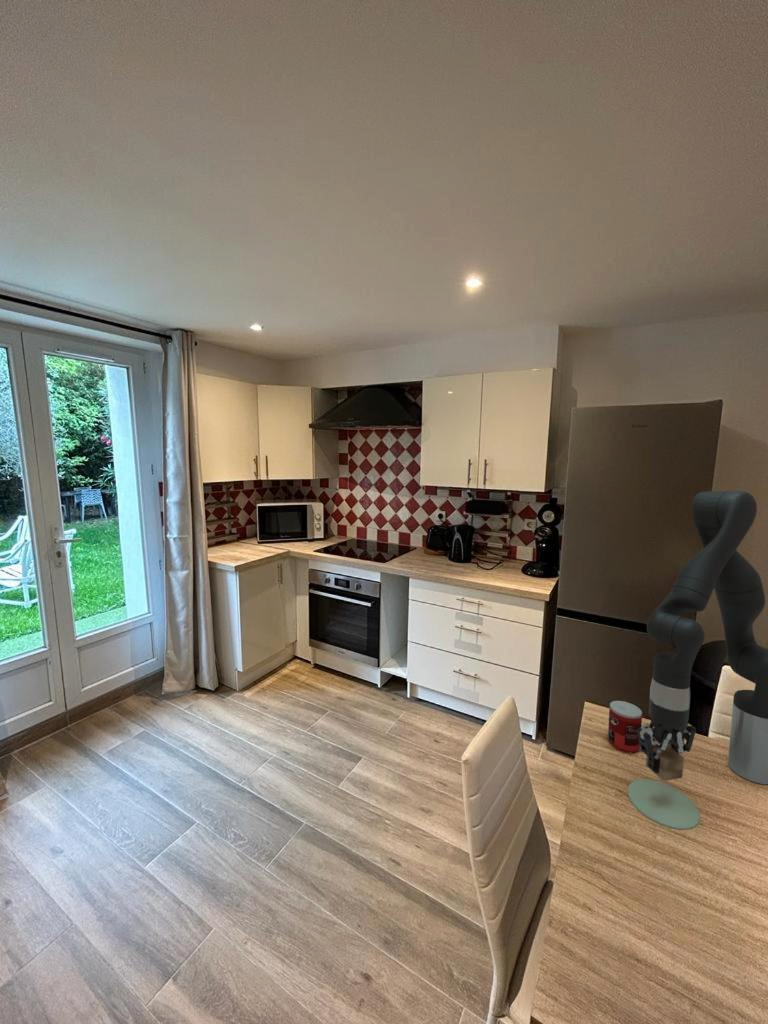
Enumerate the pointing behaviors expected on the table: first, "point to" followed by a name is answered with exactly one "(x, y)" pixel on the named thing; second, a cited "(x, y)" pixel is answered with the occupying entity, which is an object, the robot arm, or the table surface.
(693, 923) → the table surface
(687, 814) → the sage mat
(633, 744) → the canned food
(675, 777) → the walnut block
